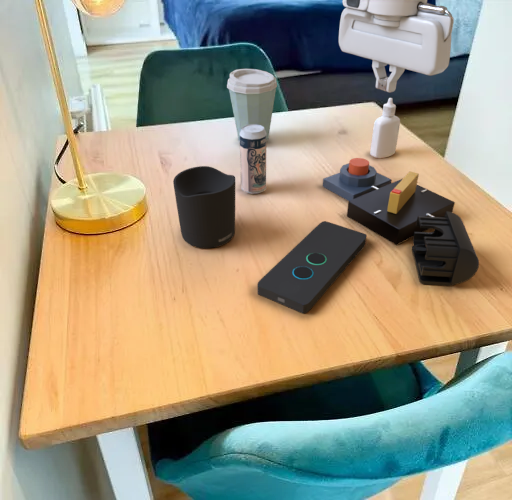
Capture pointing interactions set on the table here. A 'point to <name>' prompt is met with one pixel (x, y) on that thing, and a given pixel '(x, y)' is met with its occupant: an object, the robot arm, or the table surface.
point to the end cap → (443, 251)
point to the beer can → (253, 158)
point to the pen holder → (205, 206)
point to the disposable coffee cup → (252, 98)
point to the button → (358, 166)
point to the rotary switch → (404, 222)
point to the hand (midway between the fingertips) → (385, 89)
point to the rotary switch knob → (402, 192)
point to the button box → (354, 183)
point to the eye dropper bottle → (385, 132)
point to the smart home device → (312, 266)
